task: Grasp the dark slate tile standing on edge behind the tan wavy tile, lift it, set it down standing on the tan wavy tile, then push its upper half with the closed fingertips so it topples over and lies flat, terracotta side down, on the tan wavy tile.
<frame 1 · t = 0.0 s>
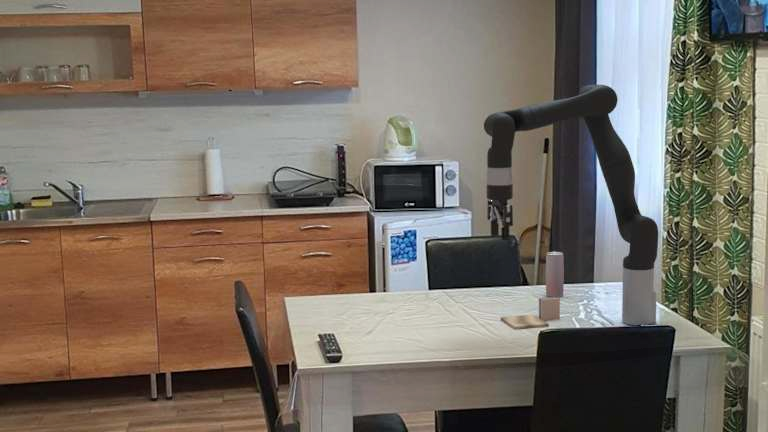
hand: (499, 237, 276), 29 cm above the table, fingers open, 8 cm apart
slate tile: (549, 318, 298), on the table
tan wavy tile: (524, 323, 294), on the table
beverage can: (554, 296, 329), on the table
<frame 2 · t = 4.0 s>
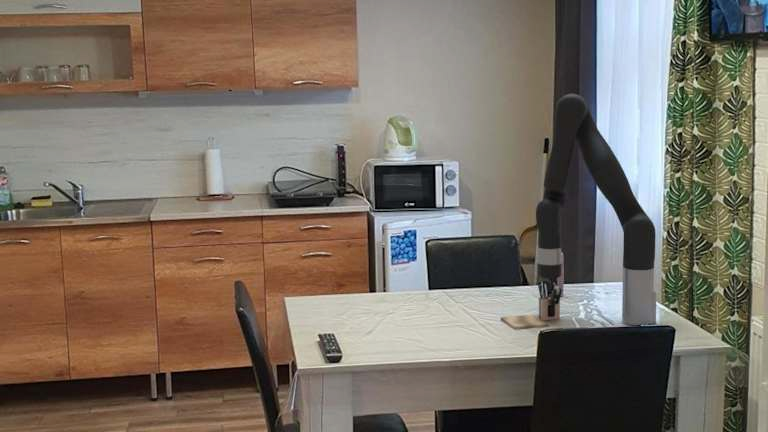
hand: (549, 315, 298), 1 cm above the table, fingers closed on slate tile, 2 cm apart
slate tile: (549, 318, 298), on the table, touching gripper
everything else where it was.
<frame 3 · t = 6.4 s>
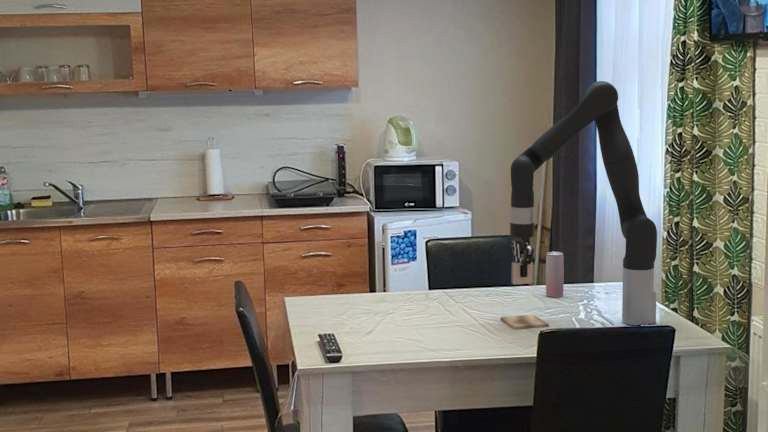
hand: (521, 275, 294), 14 cm above the table, fingers closed on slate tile
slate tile: (521, 283, 294), point 12 cm above the table, touching gripper
everything else where it was.
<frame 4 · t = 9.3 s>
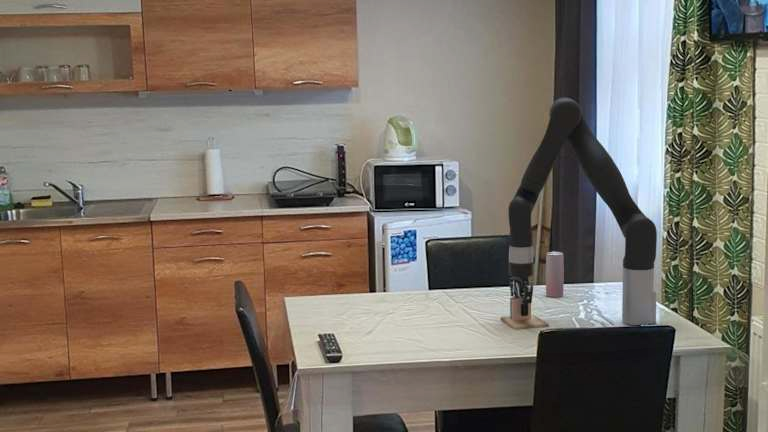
hand: (521, 313, 296), 2 cm above the table, fingers open, 4 cm apart
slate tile: (520, 318, 296), point 1 cm above the table, touching tan wavy tile
everything else where it was.
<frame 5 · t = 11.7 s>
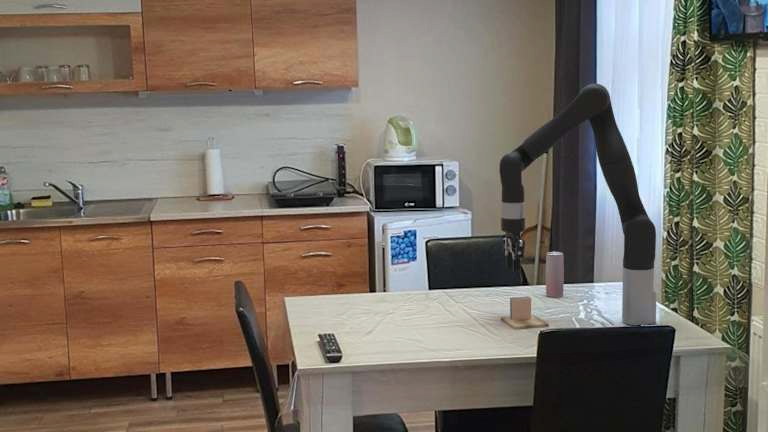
hand: (513, 268, 300), 15 cm above the table, fingers open, 5 cm apart
nothing on the table moved.
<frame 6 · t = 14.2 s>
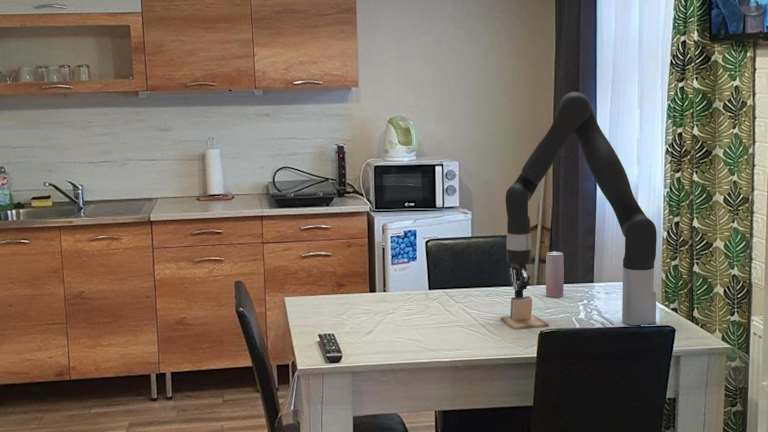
hand: (518, 301, 297), 6 cm above the table, fingers closed
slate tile: (520, 318, 296), point 1 cm above the table, tilted 8°, touching tan wavy tile
everything else where it was.
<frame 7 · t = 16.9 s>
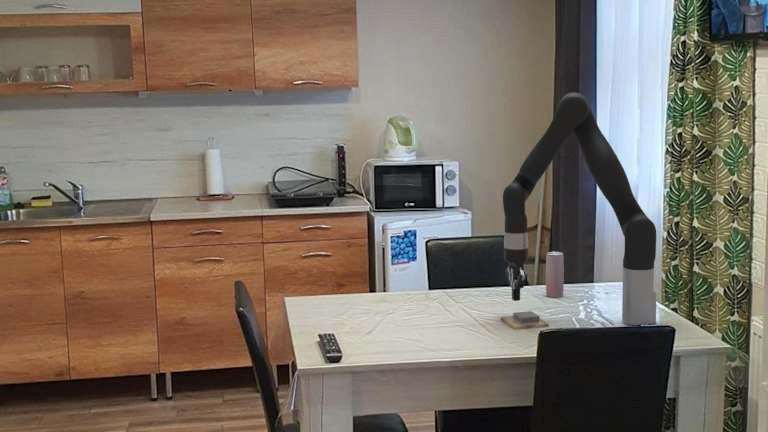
hand: (515, 300, 298), 6 cm above the table, fingers closed
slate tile: (522, 315, 295), point 2 cm above the table, tilted 90°, touching tan wavy tile
everything else where it was.
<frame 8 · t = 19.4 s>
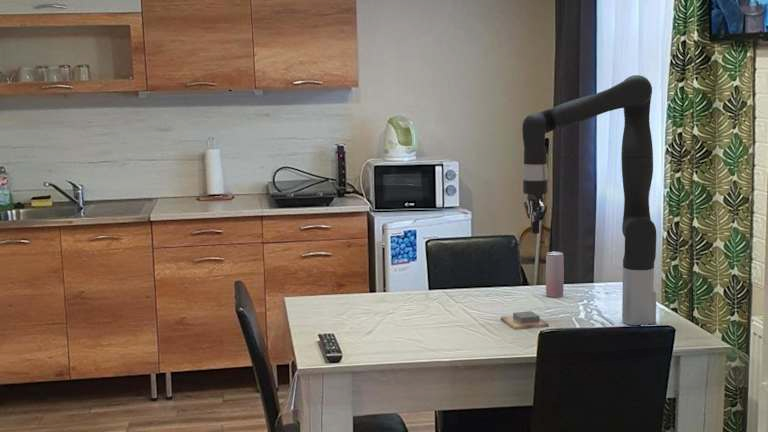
hand: (535, 233, 296), 27 cm above the table, fingers closed
nothing on the table moved.
at the end: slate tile tilted 90°; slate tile inside the target area (1.7 cm from its centre), point 2.0 cm above the table; the gripper is holding nothing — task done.
